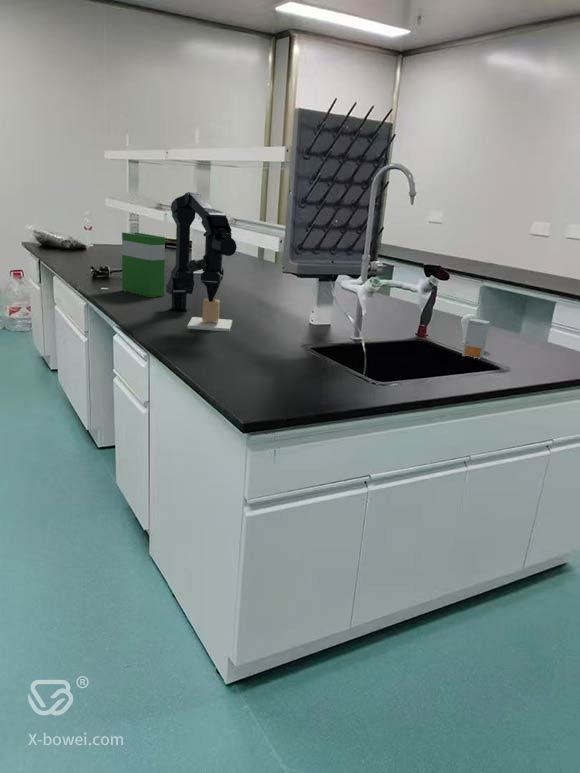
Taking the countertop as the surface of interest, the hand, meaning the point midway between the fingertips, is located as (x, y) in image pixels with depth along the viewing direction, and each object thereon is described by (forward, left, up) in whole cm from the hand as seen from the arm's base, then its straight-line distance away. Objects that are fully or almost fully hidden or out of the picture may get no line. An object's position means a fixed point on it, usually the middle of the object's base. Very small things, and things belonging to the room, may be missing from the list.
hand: (211, 299), depth 200 cm
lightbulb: (+1, +89, -9) cm, 89 cm away
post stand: (0, 0, -9) cm, 9 cm away
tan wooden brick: (0, 0, -7) cm, 7 cm away
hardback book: (-51, -33, -9) cm, 62 cm away
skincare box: (+17, +86, -9) cm, 88 cm away
